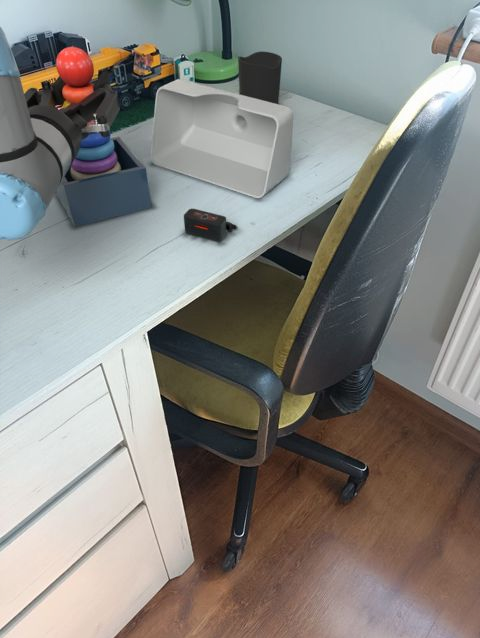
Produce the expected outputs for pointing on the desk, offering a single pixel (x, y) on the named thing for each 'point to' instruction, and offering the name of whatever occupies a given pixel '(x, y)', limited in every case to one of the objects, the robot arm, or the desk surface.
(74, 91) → the stacking toy
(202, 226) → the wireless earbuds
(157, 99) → the light grey open box
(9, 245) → the desk surface
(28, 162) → the robot arm
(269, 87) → the pen holder
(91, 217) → the square holder
